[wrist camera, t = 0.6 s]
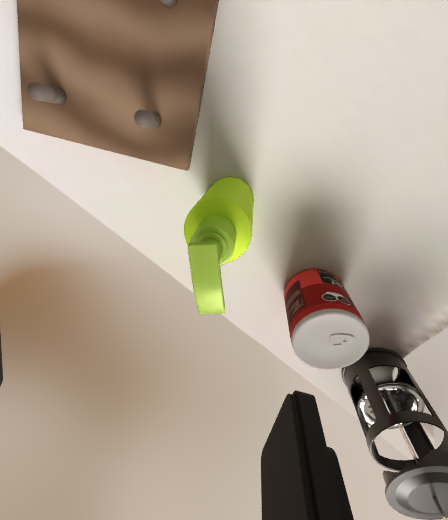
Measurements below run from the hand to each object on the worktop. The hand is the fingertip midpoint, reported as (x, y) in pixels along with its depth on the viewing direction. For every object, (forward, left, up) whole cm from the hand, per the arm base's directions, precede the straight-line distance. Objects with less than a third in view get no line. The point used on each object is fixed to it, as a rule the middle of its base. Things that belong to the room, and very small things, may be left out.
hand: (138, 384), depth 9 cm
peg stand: (-12, -15, -30) cm, 36 cm away
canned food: (+10, +15, -31) cm, 35 cm away
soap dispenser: (+1, +1, -31) cm, 31 cm away
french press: (+21, +29, -31) cm, 47 cm away
